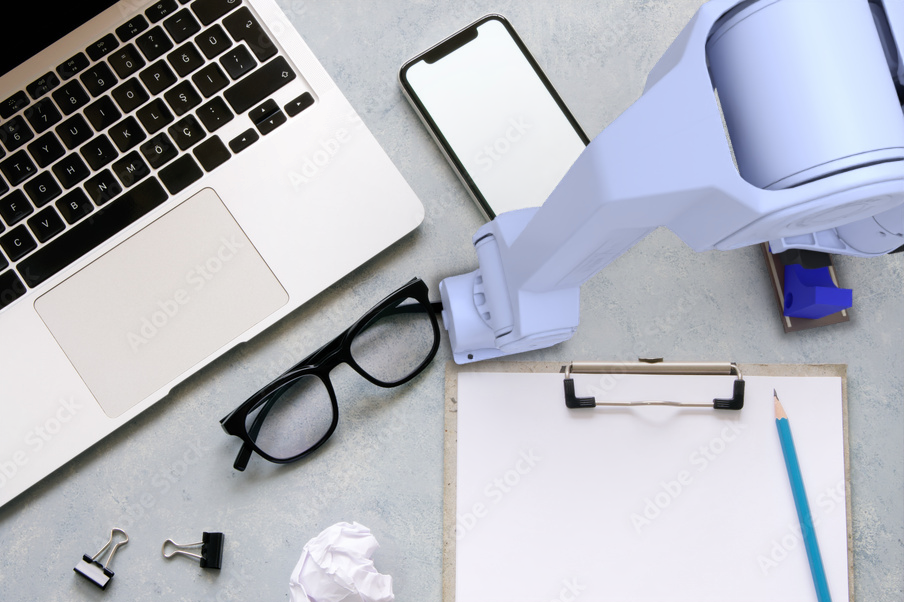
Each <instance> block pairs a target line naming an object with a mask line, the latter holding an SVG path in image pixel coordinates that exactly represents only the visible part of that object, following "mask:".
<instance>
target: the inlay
mask: <svg viewBox="0 0 904 602" xmlns="http://www.w3.org/2000/svg"><path fill="white" fill-rule="evenodd" d="M759 244H760V247H761V252H762V254H763V258H764V262H765V265H766V269H767V272H768V275H769V279H770V283H771V287H772V291H773V294H774V298H775V302H776V304H777V308H778V312H779V314H780V319H781V323H782V327H783V330H784V333H785V334H789V333H790V334H791V333H794V332H795V333H796V332H799V331H804V330H809V329H815V328H820V327H825V326H829V325H833V324H834V325H835V324H841V323H844V322H850V320H851V319H850V316H849V312H848V308H847V309H844V310H842V311H839V312H836V313H833V314H830V315H828V316H825V317H822V318H819V319H810V318H798V317H787V316H784V283H785V265H782V264H781V261H780V257H779V253H775V254H773V253H772V252H769V241H766V242H762V243H759ZM829 254H830V258H831V261H832V266H828V271H829V274H830V277H831V279H832V281H833V283H834V284H835V285H836V286H837V287H838V288H841V285H840V281H839V277H838V275H837V271H836V267H835V263H834V261H833V258H832V253H829Z"/></svg>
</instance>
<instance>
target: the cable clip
mask: <svg viewBox="0 0 904 602" xmlns="http://www.w3.org/2000/svg"><path fill="white" fill-rule="evenodd" d="M769 252H772V250H771V247H770V244H769ZM852 307H853V288H842V287H840V288H838V287H837V286H836V285H835V284H834V283H833V281H832V279H831V277H830V274H829V271H828V267H823V268H818V269H804V268H803V267H802V266H801V265H800V264H794V265H785V283H784V316H787V317H798V318H810V319H819V318H822V317H825V316H828V315H830V314H833V313H836V312H839V311H842V310H844V309H847V310H848V309H850V308H852Z"/></svg>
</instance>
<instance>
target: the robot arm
mask: <svg viewBox="0 0 904 602" xmlns="http://www.w3.org/2000/svg"><path fill="white" fill-rule="evenodd" d="M715 90H716V91H715ZM715 92H716V93H717V97H718V100H719V104H720V108H721V112H722V114H723V118H724V122H725V125H726V129H727V133H728V137H729V140H730V144H731V148H732V151H733V154H734V159H735V162H736V164H734V160H733V157H732V154H731V150H730V146H729V142H728V139H727V138H728V137H727V134H726V131H725V128H724V124H723V120H722V118H721V117H722V116H721V113H720V110H719V105H718V103H717V99H716V95H715ZM736 165H737V167H736ZM659 227H665V228H667V229H668V230H669V231H671V232H672V233H673V235H675V236H676V237H677V238H678V239H680V240H681V241H682V242H683V243H684V244H686V245H687V246H688V248H690V249H691V250H692V251H694V253H698V254H700V253H705V252H710V251H714V250H717V251H720V252H727V251H732V250H737V249H740V248H741V249H742V248H745V247H750V246H753V245H758V244H760V243H762V242H766V241H769V244H770V247H771V250H772V253H773V254H775V253H779V257H780V261H781V264H782V265H794V264H800V265H801V266H802V267H803V268H804V269H818V268H823V267H828V266H832V261H831V258H830V254H829V253H831V254H834V255H835V256H841V255H842V256H849V257H855V258H862V259H874V258H879V257H882V256H884V255H894V254H898V253H899V254H900V253H904V0H708V1H706V2H704V3H702V4H701V5H700V6H699V7H698V8H697V10H696V11H695V13H694V14H693V15H692V16H691V18H690V19H689V21H687V23H686V24H685V26H684V27H683V28H682V30H681V31H680V32H679V33H678V35H677V36H676V37H675V38H674V40H673V41H672V42H671V44H670V45H668V47H667V49H665V51H664V53H663V54H662V55H661V56H660V58H659V59H658V60H657V62H656V63H655V64H654V65H653V67H652V68H651V69H650V71H649V72H648V75H647V77H646V80H645V84H644V87H643V91H642V93H641V95H640V96H639V97H638V98H637V99H636V100H635V101H634V102H633V103H631V104H630V105H629V106H628V107H627V108H626V109H625V110H624V111H623V112H622V113H620V114H619V115H618V116H617V117H616V118H615V119H614V120H612V121H611V122H610V123H609V124H608V125H607V126H606V127H605V128H604V129H602V131H599V133H597V134H596V136H594V138H593V139H591V141H590V142H589V143H588V144H587V146H586V147H584V149H583V151H582V152H581V153H580V154H579V156H578V157H577V158H576V160H575V161H574V162H573V164H572V165H571V166H570V167H569V169H568V170H567V171H566V173H565V174H564V175H563V177H562V178H561V179H560V181H559V182H558V183H557V185H556V186H555V187H554V189H552V191H551V192H550V194H549V195H548V197H547V198H546V199H545V200H544V202H543V203H542V205H541V206H532V207H524V208H518V209H517V208H516V209H512V210H508V211H506V212H502V213H499V215H497V216H495V217H494V218H493V220H490V221H488V222H485V223H484V224H483V225H481V226H480V227H479V228H478V230H477V231H476V232H475V233H474V234H473V235H472V236H471V242H472V245H473V248H474V249H475V253H476V256H477V260H478V266H479V268H477V269H475V270H473V271H471V272H467V273H463V274H459V275H454V276H449V277H445V278H444V279H442V280H441V281H440V282H439V283H438V289H439V294H440V298H441V303H442V308H443V309H442V310H441V317H442V322H443V327H444V330H445V331H447V332H448V337H449V342H450V347H451V352H452V357H453V360H454V363H455V364H456V365H466V364H469V363H475V362H480V361H485V360H491V359H497V358H499V357H506V356H510V355H515V354H520V353H526V352H531V351H536V350H541V349H545V348H550V347H553V346H554V345H558V344H560V343H563V342H566V341H568V340H570V339H572V337H574V334H575V333H576V332H577V331H578V326H579V325H580V322H581V321H580V320H581V319H580V318H581V286H582V285H584V284H585V283H586V282H588V281H589V280H591V278H593V277H594V276H596V275H597V274H599V272H601V271H602V270H604V269H605V268H607V266H608V265H610V264H611V263H613V262H614V261H616V260H617V259H618V258H620V257H621V256H622V255H624V254H625V253H626V252H628V251H629V250H630V249H632V248H633V247H634V246H636V245H637V244H638V243H640V242H641V241H642V240H644V239H645V238H646V237H647V236H649V235H650V234H651V233H653V232H654V231H655V230H657V229H658V228H659ZM469 355H471V356H472V358H471V359H470V358H468V356H469Z"/></svg>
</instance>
